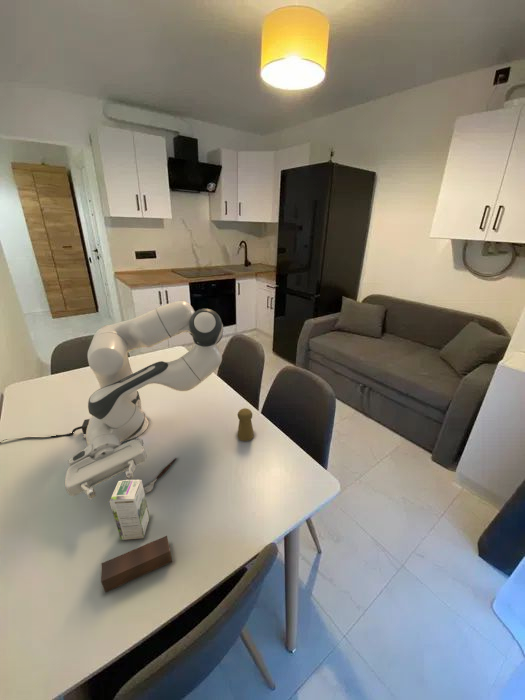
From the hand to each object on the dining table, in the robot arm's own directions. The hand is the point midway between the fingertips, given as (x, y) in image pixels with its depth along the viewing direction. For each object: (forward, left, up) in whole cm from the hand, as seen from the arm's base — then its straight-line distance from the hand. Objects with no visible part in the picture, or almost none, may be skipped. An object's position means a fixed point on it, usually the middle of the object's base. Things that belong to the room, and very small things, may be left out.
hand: (111, 486), depth 75 cm
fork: (+6, +12, -10) cm, 17 cm away
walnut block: (+12, -13, -10) cm, 20 cm away
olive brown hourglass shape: (+30, +33, -10) cm, 46 cm away
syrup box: (+7, -4, -10) cm, 13 cm away
